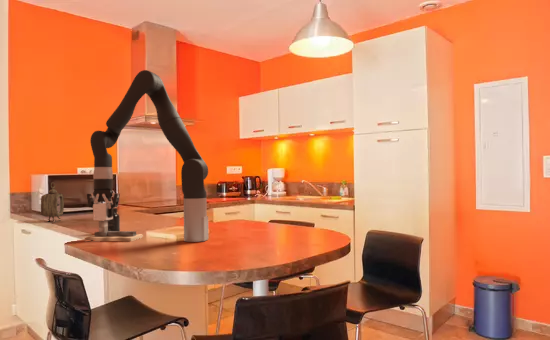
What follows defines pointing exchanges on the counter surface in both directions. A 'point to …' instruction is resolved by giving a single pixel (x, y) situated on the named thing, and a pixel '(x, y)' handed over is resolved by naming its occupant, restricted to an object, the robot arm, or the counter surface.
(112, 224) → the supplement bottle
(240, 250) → the counter surface
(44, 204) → the tabletop clock
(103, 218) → the grey block
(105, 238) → the ratchet board
